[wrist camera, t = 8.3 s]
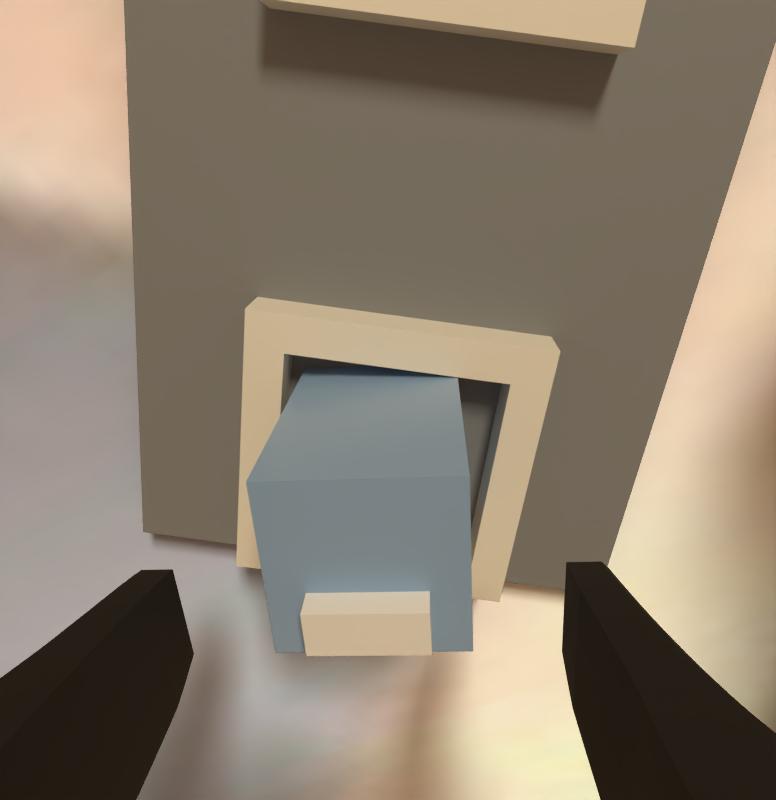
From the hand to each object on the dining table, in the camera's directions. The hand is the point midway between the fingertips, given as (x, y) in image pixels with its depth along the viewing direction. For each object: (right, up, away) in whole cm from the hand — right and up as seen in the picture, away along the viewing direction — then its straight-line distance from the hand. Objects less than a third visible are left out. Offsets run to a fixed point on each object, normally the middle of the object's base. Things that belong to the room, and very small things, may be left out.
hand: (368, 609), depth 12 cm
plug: (0, +3, +6) cm, 7 cm away
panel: (+1, +9, +4) cm, 10 cm away
